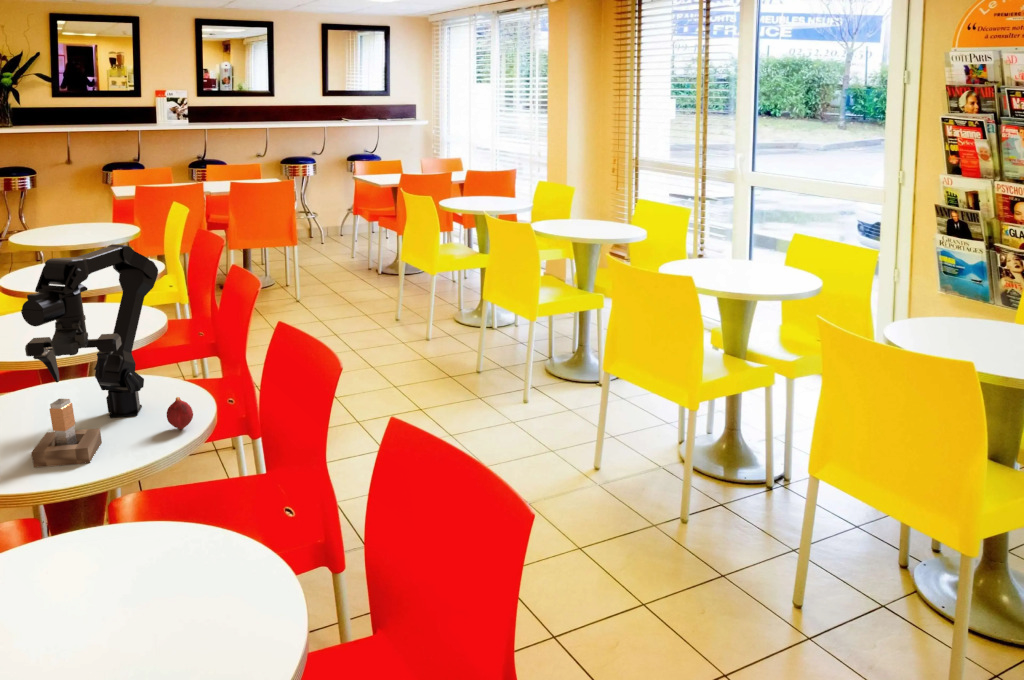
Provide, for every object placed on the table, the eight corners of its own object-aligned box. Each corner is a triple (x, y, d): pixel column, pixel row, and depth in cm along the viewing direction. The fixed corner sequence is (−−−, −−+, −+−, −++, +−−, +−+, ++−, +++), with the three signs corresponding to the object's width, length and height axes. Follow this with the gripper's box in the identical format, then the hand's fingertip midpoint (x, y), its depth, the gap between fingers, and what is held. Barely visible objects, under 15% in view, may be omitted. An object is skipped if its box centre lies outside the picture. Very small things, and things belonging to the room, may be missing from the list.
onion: (199, 429, 201) (195, 397, 198) (175, 436, 197) (171, 403, 194) (187, 422, 204) (183, 391, 202) (164, 429, 200) (160, 397, 198)
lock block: (101, 442, 193) (99, 428, 192) (89, 462, 183) (87, 447, 182) (49, 446, 191) (46, 432, 190) (33, 467, 180) (31, 452, 179)
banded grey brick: (67, 451, 188) (58, 398, 185) (79, 451, 188) (71, 398, 185) (57, 458, 185) (48, 404, 181) (70, 458, 185) (61, 405, 181)
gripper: (11, 326, 180) (23, 395, 185) (106, 321, 184) (115, 389, 189) (28, 313, 191) (39, 379, 195) (117, 309, 194) (126, 373, 199)
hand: (79, 380), depth 194 cm, fingers open, 9 cm apart
